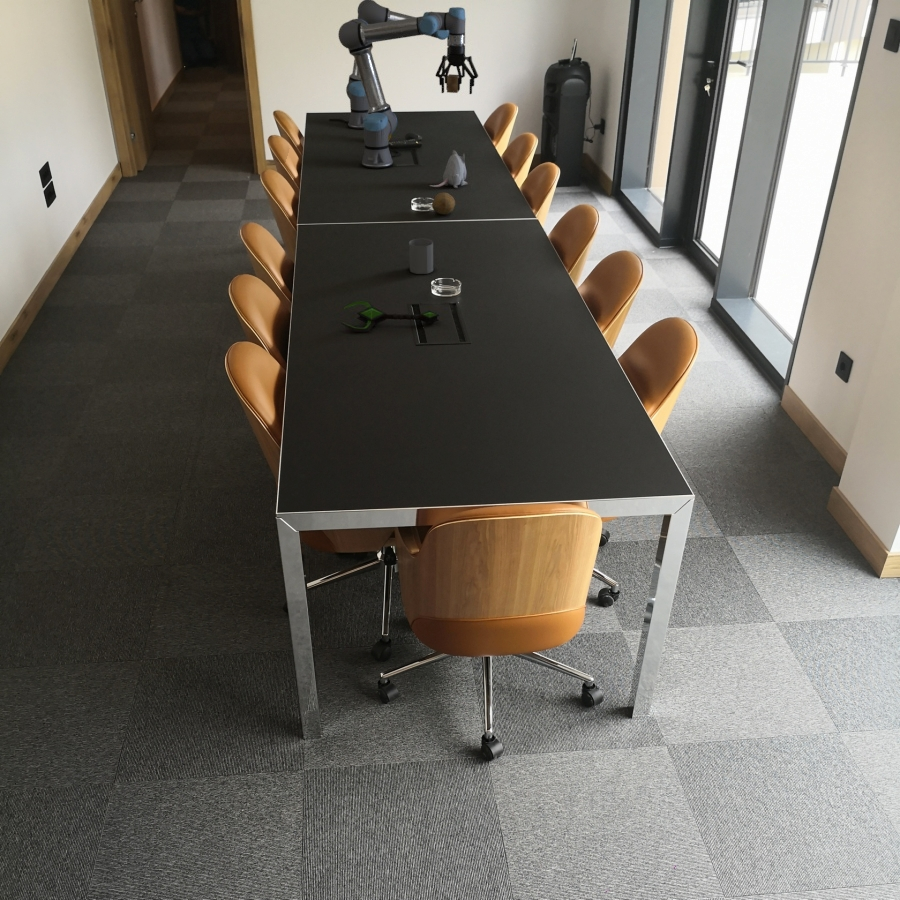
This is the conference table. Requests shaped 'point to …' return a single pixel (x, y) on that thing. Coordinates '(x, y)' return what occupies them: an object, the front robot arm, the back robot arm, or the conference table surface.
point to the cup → (421, 256)
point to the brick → (452, 83)
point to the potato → (443, 203)
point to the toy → (454, 171)
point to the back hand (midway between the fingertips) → (453, 89)
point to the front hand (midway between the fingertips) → (456, 93)
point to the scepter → (385, 316)
